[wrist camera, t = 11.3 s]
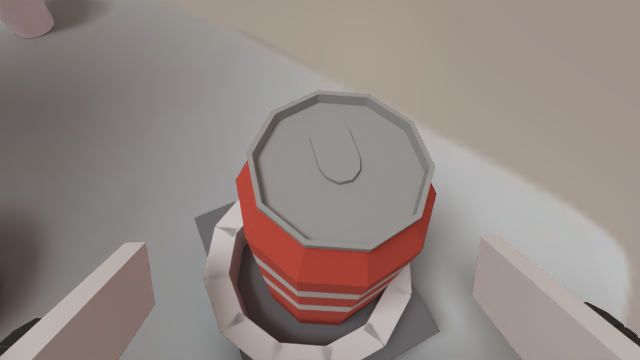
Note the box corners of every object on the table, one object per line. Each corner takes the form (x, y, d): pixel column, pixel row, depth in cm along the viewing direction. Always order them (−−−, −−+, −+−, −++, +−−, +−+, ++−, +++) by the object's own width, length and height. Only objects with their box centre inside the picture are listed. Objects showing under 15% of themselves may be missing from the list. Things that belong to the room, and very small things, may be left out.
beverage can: (355, 209, 22) (401, 63, 11) (389, 312, 19) (494, 242, 9) (260, 230, 21) (216, 92, 11) (281, 342, 18) (249, 306, 8)
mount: (207, 240, 25) (178, 202, 19) (335, 186, 27) (344, 138, 22) (270, 422, 20) (257, 444, 14) (421, 335, 22) (461, 324, 17)
